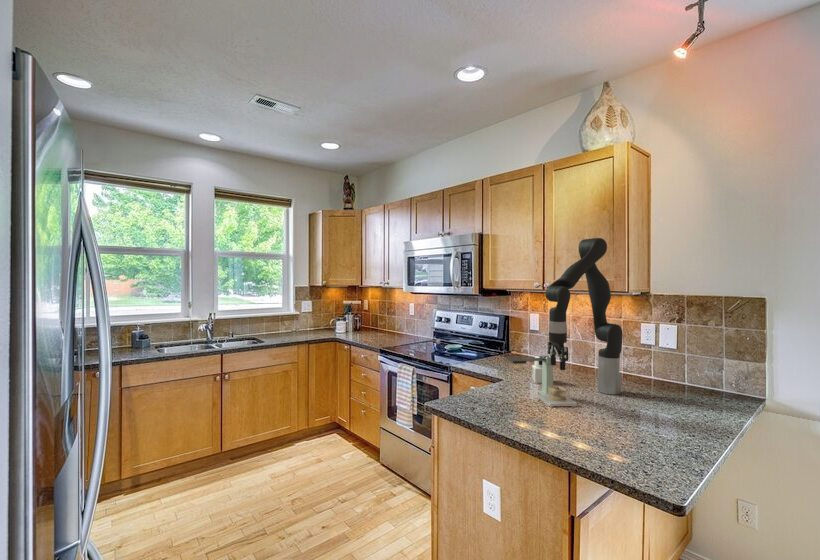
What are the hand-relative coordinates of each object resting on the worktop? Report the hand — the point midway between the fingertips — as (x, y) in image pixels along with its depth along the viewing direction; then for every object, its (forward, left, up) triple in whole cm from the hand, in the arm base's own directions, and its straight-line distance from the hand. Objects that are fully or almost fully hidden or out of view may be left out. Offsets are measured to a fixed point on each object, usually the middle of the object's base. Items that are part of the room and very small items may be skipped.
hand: (557, 367), depth 172 cm
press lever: (+9, -9, 0) cm, 13 cm away
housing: (0, 0, -14) cm, 14 cm away
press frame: (0, -3, -15) cm, 16 cm away
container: (-7, -32, -16) cm, 36 cm away
